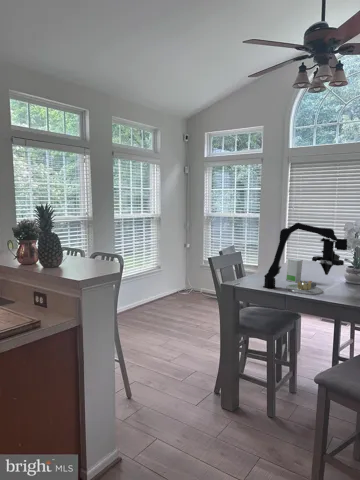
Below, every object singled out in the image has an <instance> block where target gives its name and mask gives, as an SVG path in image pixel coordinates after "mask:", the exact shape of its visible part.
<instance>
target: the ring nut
mask: <svg viewBox="0 0 360 480" xmlns="http://www.w3.org/2000/svg"><path fill="white" fill-rule="evenodd" d="M301 281H302V282H304V285H302V282H301ZM301 281H300V282H296V284H297V288H299V289H306V290H307V289H311V287H317V282H315V281H313V282H312V283H310V282H308V281H307V282H306V281H304V280H301ZM306 283H307V285H306Z"/></svg>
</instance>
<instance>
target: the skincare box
mask: <svg viewBox="0 0 360 480" xmlns="http://www.w3.org/2000/svg"><path fill="white" fill-rule="evenodd" d="M286 265H287V266H286V277H285V281H288V282H292V283H298V282H300V283H301V281H302V280H301V278H302V269H303V259H298V258H287V264H286Z"/></svg>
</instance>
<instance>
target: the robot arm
mask: <svg viewBox="0 0 360 480" xmlns="http://www.w3.org/2000/svg"><path fill="white" fill-rule="evenodd" d="M297 230H301V231H304V232H309V233H314V234H316V235H319V236H321V237H322V239H320V242H323V244H322V246H323V247H322V250H321V253H322V256H319V255H317V256H316V255H314V256H312V258H311V262H314V263H315V262H317V261H318V262H319V264H320V266H321V268H322V269H323V273H324V275H325V276H329V275H328V274H329V272H330V271H331V269H332V267H333V266H344V265H345V262H344V260H343V259H340V257H341V256H340V255H338V254H337V253H336V252H335V250H334V249H336V250H337V251H348V239H347V238H338V236H336V235H335V230H334V229H333V228H330V227H329V228H328V227H318V226H313V225H310V224H306V223H301V222H296V223H294V224H293V225H290V226H289V227H285V228H283V229H281V230H280V232H279V241H278V242H279V243H278V245H277V248H276V249H277V250H276V252H275V254H274V255H275V256H274V259H273V260H272V261H273V262H272V263H271V265H270V267H269V268H268V270H267V273H265V274H264V284H263V285H262V287H263V288H265V289H269V290H270V289H277V288H278V287H277V286H276V278H275V277H277V276H278V274H280V273H281V272H280V271H281V269H282V266H281V265H280V264H281V260H282V256H283V253H284V250H285V248H286V247H285V246H286V244H287V242H288V240H289V238H290V236H291V234H293V233H294V232H296V231H297Z"/></svg>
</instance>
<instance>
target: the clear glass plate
mask: <svg viewBox="0 0 360 480" xmlns="http://www.w3.org/2000/svg"><path fill="white" fill-rule="evenodd" d="M312 281H313V280H308V281H307V282H305V283H306V285H307V283H308V282H310V283H312ZM301 283H302V285H304V282H301ZM285 290H286V291H288V292H291V293H295V294H299V295H300V294H301V295H320V294H322V293H323V288H321V287H318V286H315V287H311V289H307V290H306V289H299V288H297V283H295V284H288V285H285Z"/></svg>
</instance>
